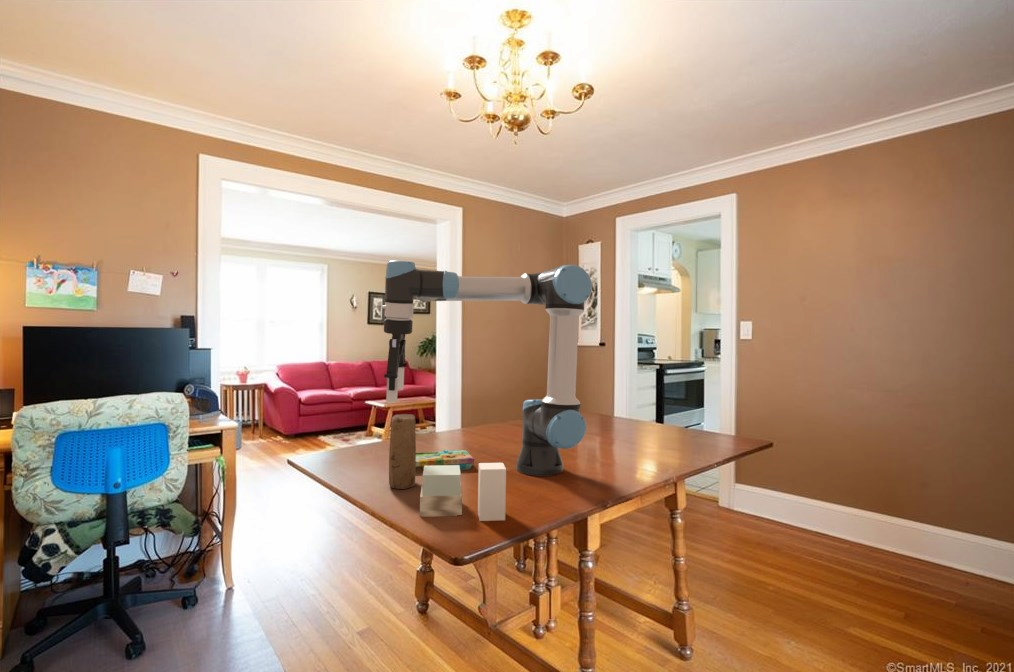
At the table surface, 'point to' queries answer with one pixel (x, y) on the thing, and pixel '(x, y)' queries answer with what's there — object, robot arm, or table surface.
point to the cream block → (491, 491)
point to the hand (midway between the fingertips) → (395, 395)
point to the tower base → (440, 505)
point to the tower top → (441, 480)
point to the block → (402, 452)
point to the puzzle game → (445, 459)
